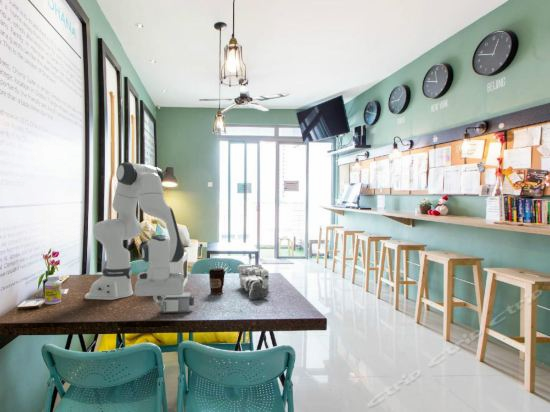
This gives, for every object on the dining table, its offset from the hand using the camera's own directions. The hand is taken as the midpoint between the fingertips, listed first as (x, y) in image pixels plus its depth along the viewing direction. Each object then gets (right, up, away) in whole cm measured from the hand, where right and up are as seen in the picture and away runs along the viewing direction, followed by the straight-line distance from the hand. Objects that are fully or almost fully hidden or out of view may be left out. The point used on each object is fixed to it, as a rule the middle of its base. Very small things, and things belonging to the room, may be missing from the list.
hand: (159, 305), depth 154 cm
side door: (+5, -3, +1) cm, 5 cm away
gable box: (-9, -3, +53) cm, 54 cm away
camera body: (+6, -4, +6) cm, 9 cm away
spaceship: (+39, -4, +39) cm, 55 cm away
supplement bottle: (-56, -3, +16) cm, 58 cm away
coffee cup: (+19, -4, +35) cm, 40 cm away
